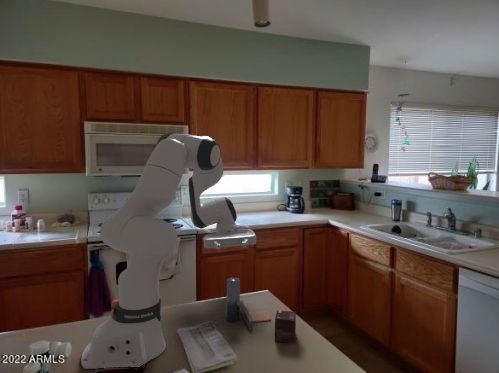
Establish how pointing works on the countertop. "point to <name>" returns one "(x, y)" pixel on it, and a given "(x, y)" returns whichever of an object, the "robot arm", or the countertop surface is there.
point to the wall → (246, 315)
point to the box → (285, 326)
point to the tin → (233, 300)
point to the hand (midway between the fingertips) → (231, 246)
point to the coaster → (259, 316)
